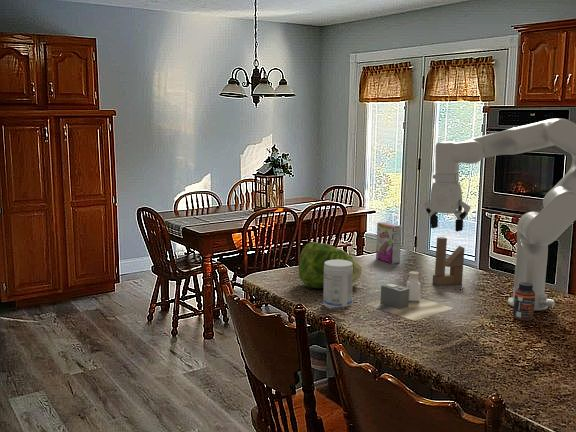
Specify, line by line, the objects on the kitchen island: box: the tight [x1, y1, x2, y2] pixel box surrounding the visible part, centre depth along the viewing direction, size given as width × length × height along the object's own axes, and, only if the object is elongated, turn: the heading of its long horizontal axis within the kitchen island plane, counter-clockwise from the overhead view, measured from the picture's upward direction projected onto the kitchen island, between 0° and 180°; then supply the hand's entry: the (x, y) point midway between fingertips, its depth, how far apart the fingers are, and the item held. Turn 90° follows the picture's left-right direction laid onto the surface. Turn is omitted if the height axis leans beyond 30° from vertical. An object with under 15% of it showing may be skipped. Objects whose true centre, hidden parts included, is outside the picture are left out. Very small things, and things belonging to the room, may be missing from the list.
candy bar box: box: [375, 221, 403, 265], centre depth 254 cm, size 11×5×16 cm, turn 30°
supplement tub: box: [322, 259, 354, 309], centre depth 191 cm, size 10×10×15 cm
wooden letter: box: [432, 236, 465, 287], centre depth 218 cm, size 4×11×18 cm, turn 106°
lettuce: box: [298, 241, 363, 289], centre depth 213 cm, size 17×23×16 cm
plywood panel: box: [365, 297, 455, 322], centre depth 189 cm, size 20×20×1 cm
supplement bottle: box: [512, 282, 535, 322], centre depth 181 cm, size 6×6×11 cm
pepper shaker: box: [405, 270, 421, 301], centre depth 195 cm, size 4×4×10 cm
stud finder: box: [379, 282, 409, 309], centre depth 189 cm, size 8×4×6 cm, turn 39°
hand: (446, 229), depth 196 cm, fingers open, 9 cm apart
